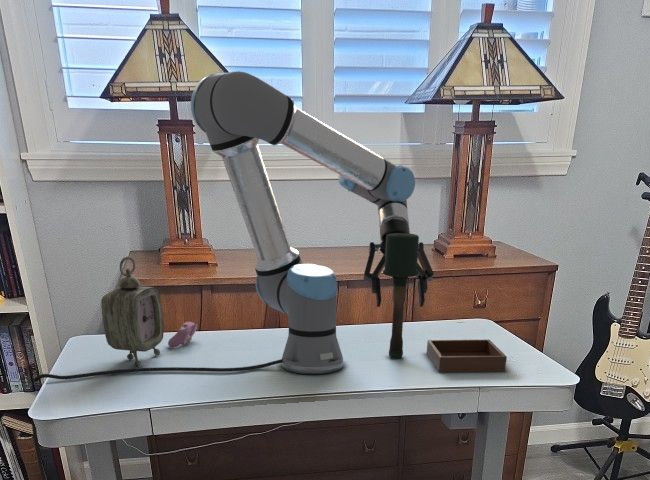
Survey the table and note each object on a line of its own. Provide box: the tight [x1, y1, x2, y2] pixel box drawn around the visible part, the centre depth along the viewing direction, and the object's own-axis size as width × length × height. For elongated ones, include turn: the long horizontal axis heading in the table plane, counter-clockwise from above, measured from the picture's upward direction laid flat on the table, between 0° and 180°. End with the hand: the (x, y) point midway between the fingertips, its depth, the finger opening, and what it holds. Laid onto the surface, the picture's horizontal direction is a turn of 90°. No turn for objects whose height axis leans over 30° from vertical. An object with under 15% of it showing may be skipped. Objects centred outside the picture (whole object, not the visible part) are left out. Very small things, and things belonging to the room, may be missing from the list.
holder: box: [426, 339, 507, 373], centre depth 178 cm, size 17×16×4 cm
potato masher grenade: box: [382, 233, 420, 360], centre depth 175 cm, size 8×9×30 cm
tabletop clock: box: [100, 256, 165, 368], centre depth 171 cm, size 14×9×25 cm, turn 167°
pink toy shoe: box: [167, 320, 198, 348], centre depth 190 cm, size 10×5×7 cm, turn 171°
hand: (400, 303), depth 173 cm, fingers open, 10 cm apart
